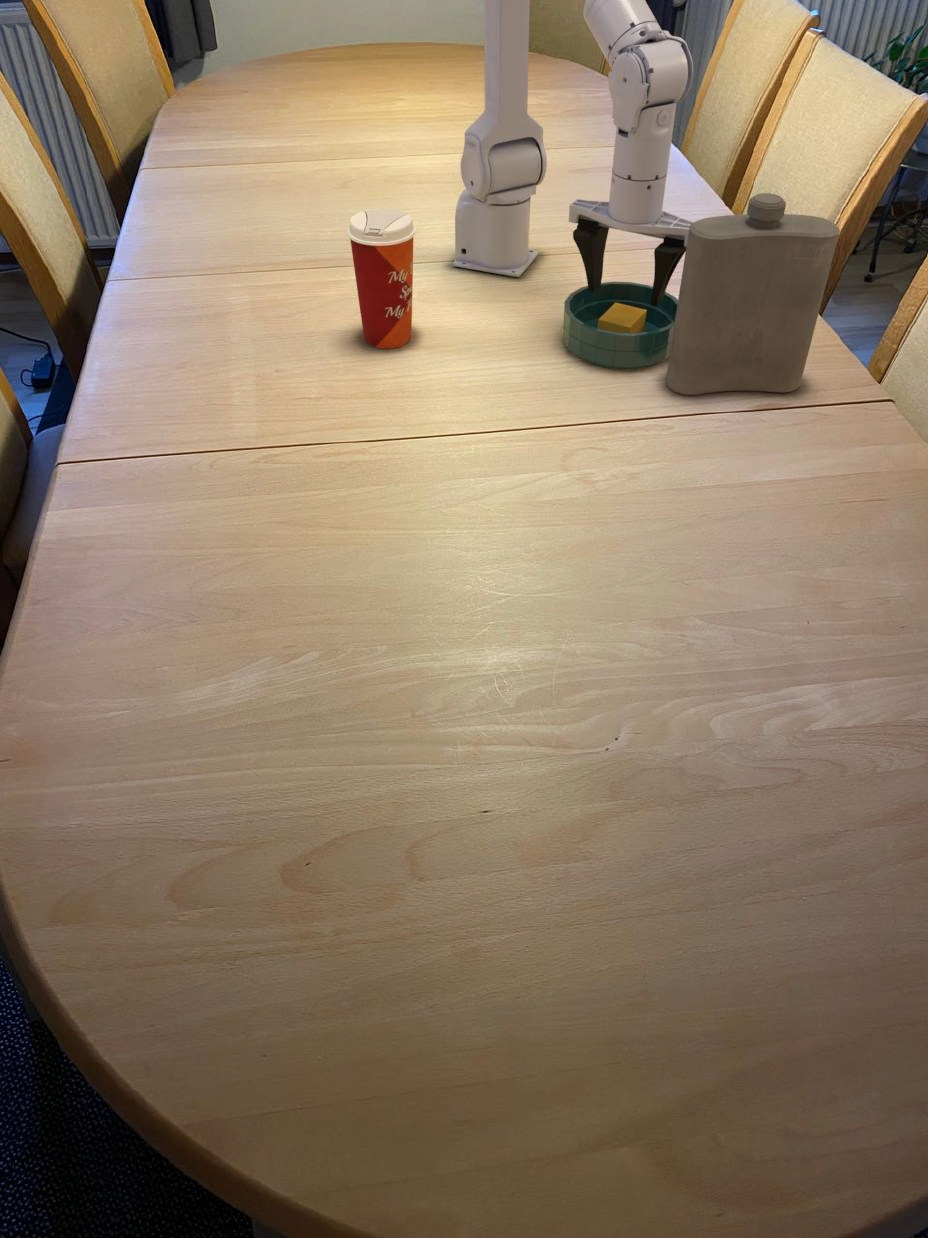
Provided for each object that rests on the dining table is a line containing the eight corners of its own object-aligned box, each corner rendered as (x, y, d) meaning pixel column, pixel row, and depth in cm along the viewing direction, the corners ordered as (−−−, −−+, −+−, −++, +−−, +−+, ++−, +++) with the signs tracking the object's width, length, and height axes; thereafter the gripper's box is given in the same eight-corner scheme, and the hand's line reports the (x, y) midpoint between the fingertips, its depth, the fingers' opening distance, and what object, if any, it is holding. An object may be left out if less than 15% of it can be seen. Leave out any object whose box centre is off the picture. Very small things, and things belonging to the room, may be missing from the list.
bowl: (546, 358, 114) (548, 322, 111) (581, 308, 124) (584, 273, 121) (662, 381, 111) (667, 344, 108) (689, 328, 120) (695, 292, 117)
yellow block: (595, 343, 116) (598, 319, 114) (612, 325, 119) (615, 302, 117) (627, 351, 115) (630, 327, 112) (643, 333, 118) (647, 309, 116)
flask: (790, 367, 113) (834, 186, 99) (805, 393, 109) (854, 208, 95) (659, 370, 112) (686, 189, 99) (670, 396, 108) (699, 211, 95)
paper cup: (411, 355, 115) (406, 235, 105) (347, 349, 116) (336, 230, 107) (426, 324, 121) (423, 208, 111) (365, 319, 122) (357, 203, 112)
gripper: (718, 171, 104) (697, 295, 113) (591, 148, 109) (581, 268, 118) (695, 193, 99) (675, 320, 109) (564, 168, 105) (556, 291, 114)
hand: (625, 295), depth 113 cm, fingers open, 7 cm apart
